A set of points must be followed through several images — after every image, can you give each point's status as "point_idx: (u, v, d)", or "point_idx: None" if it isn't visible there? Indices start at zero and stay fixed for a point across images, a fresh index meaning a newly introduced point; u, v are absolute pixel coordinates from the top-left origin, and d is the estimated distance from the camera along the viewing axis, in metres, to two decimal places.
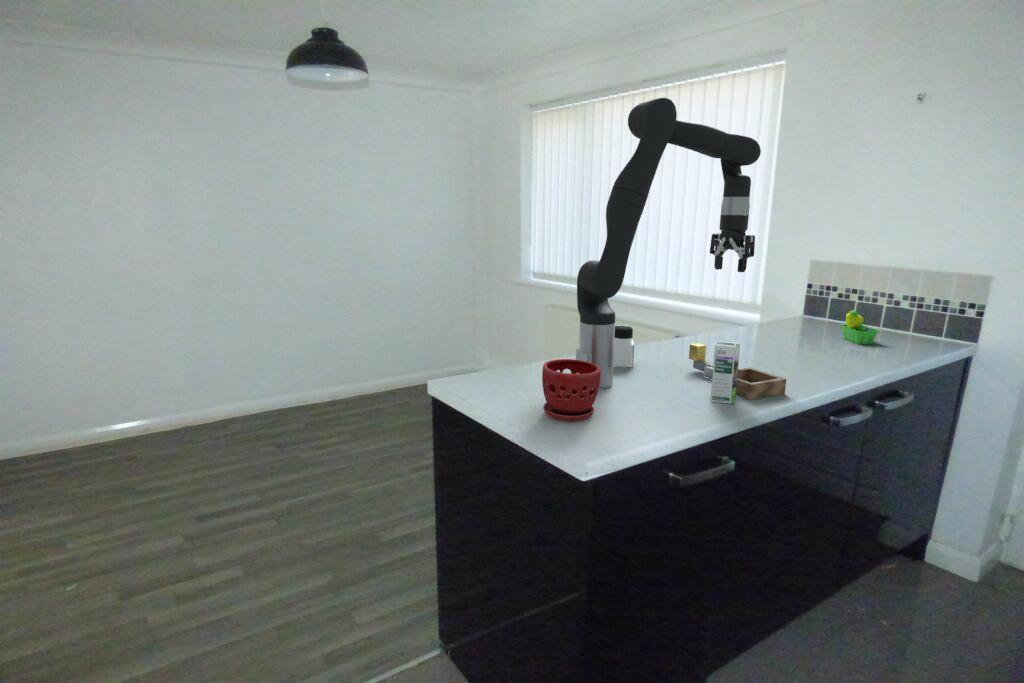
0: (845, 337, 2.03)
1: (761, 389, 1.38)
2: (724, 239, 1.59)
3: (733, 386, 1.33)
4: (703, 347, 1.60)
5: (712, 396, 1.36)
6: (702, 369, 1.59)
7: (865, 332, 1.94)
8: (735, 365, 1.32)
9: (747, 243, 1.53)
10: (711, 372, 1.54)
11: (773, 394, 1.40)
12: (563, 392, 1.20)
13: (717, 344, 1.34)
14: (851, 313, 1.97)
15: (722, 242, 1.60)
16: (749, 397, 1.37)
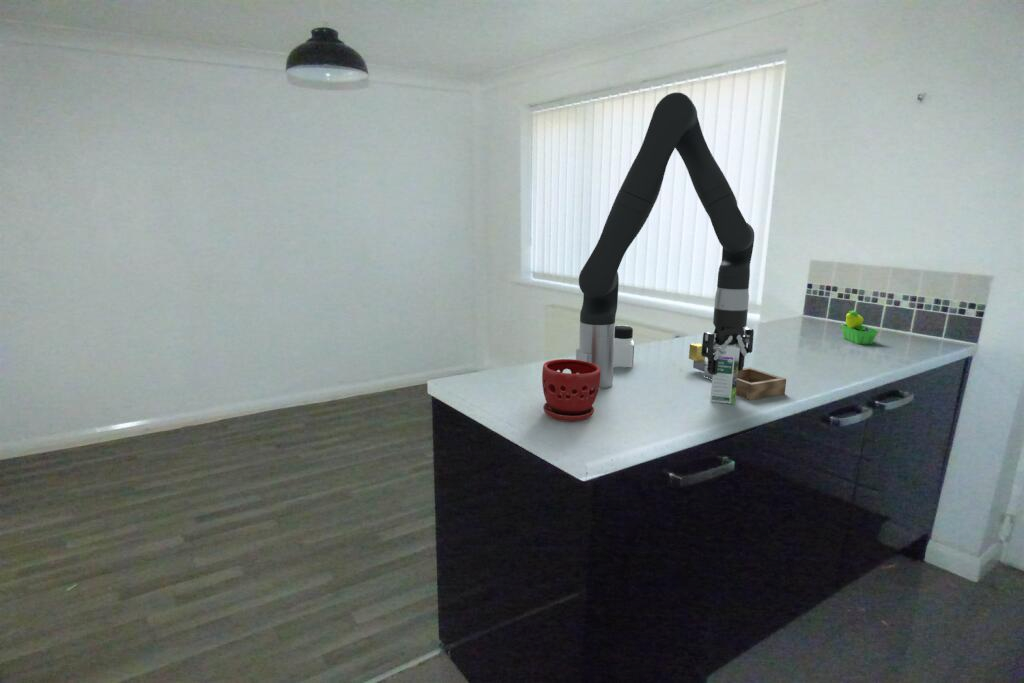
0: (845, 337, 2.03)
1: (761, 389, 1.38)
2: (730, 338, 1.32)
3: (733, 386, 1.33)
4: None
5: (712, 396, 1.36)
6: (702, 369, 1.59)
7: (865, 332, 1.94)
8: (735, 365, 1.32)
9: (752, 338, 1.36)
10: None
11: (773, 394, 1.40)
12: (563, 392, 1.20)
13: (717, 344, 1.34)
14: (851, 313, 1.97)
15: (728, 342, 1.32)
16: (749, 397, 1.37)
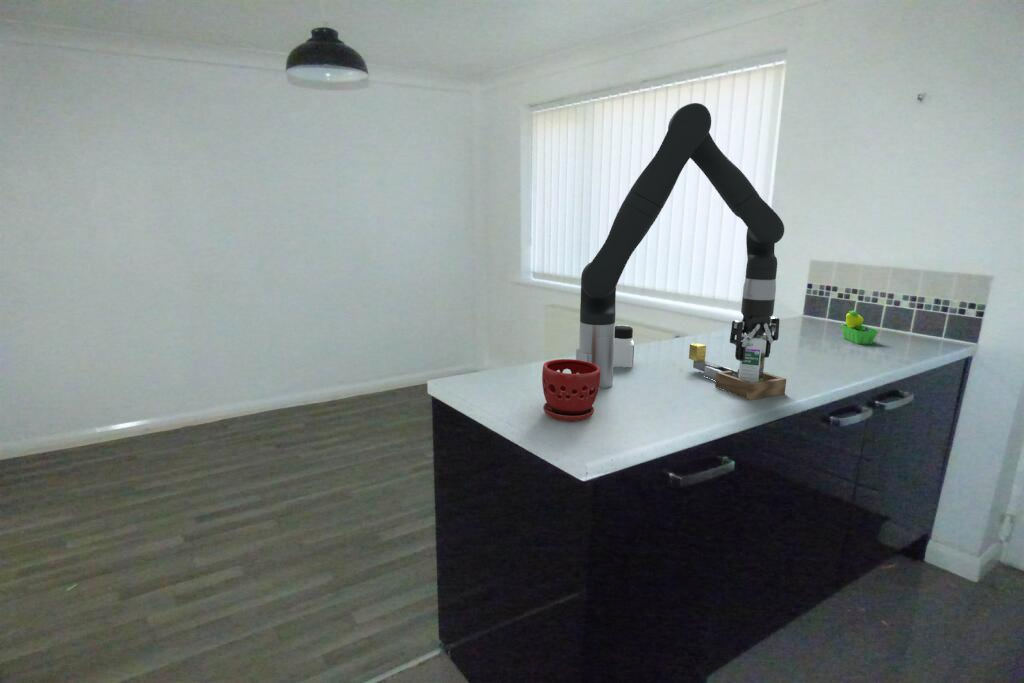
0: (845, 337, 2.03)
1: (761, 389, 1.38)
2: (758, 326, 1.39)
3: (760, 377, 1.41)
4: (703, 347, 1.60)
5: None
6: (702, 369, 1.59)
7: (865, 332, 1.94)
8: (761, 357, 1.40)
9: (778, 326, 1.43)
10: (711, 372, 1.54)
11: (773, 394, 1.40)
12: (563, 392, 1.20)
13: None
14: (851, 313, 1.97)
15: (755, 330, 1.39)
16: (749, 397, 1.37)
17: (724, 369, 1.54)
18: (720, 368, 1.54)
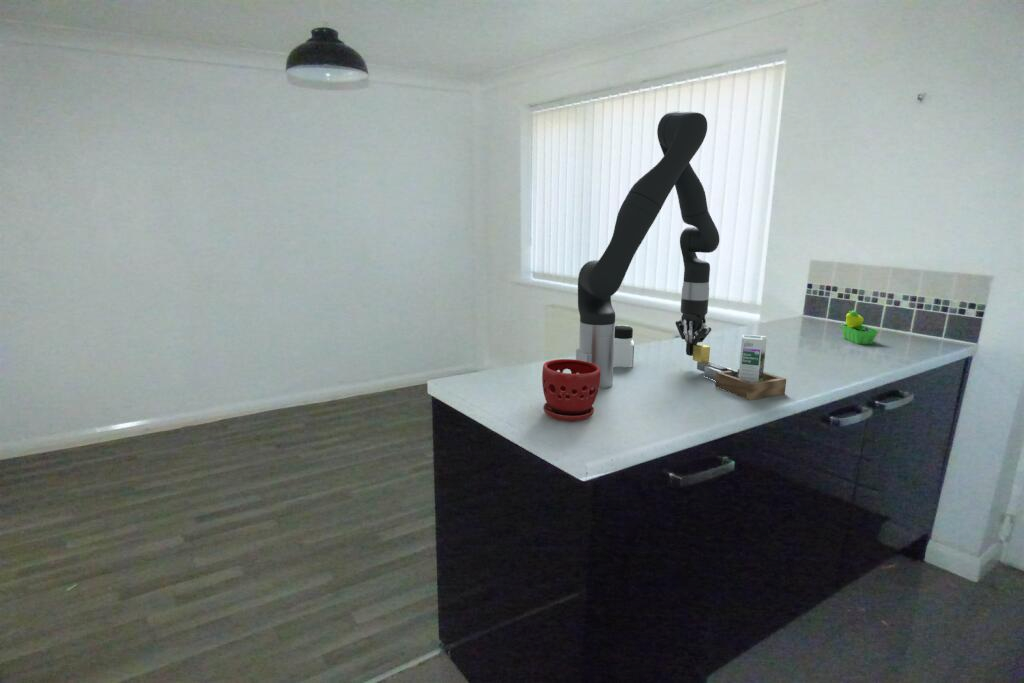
0: (845, 337, 2.03)
1: (761, 389, 1.38)
2: None
3: (760, 377, 1.41)
4: (707, 348, 1.59)
5: None
6: None
7: (865, 332, 1.94)
8: (761, 357, 1.40)
9: None
10: (711, 372, 1.54)
11: (773, 394, 1.40)
12: (563, 392, 1.20)
13: (744, 337, 1.41)
14: (851, 313, 1.97)
15: None
16: (749, 397, 1.37)
17: None
18: (724, 369, 1.53)
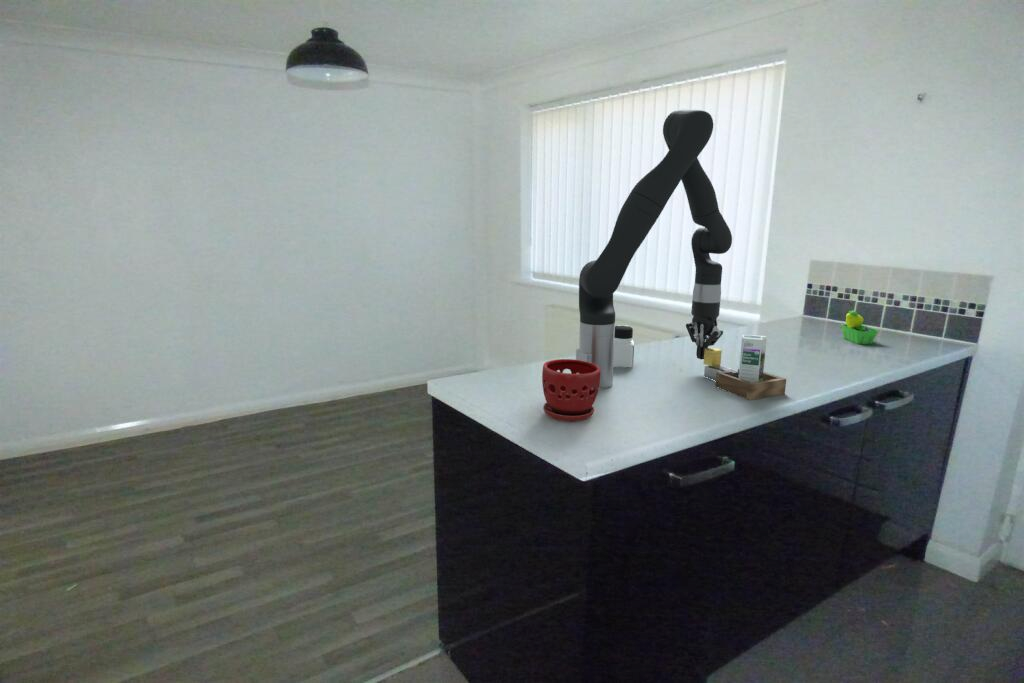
0: (845, 337, 2.03)
1: (761, 389, 1.38)
2: None
3: (760, 377, 1.41)
4: (718, 352, 1.55)
5: None
6: None
7: (865, 332, 1.94)
8: (761, 357, 1.40)
9: None
10: (711, 372, 1.54)
11: (773, 394, 1.40)
12: (563, 392, 1.20)
13: (744, 337, 1.41)
14: (851, 313, 1.97)
15: None
16: (749, 397, 1.37)
17: None
18: (737, 374, 1.49)
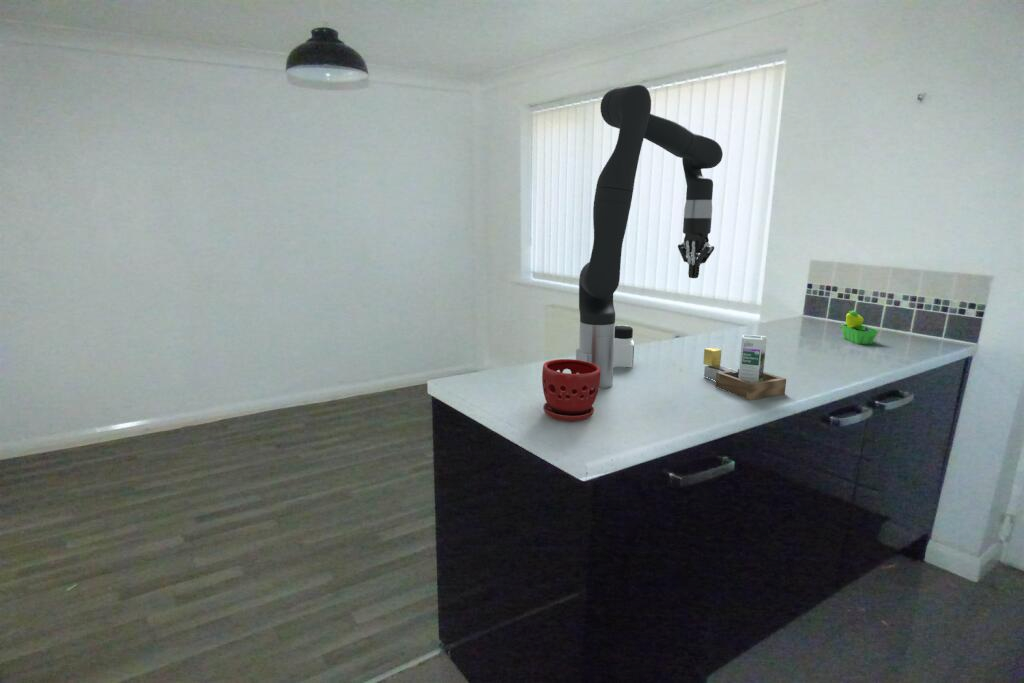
0: (845, 337, 2.03)
1: (761, 389, 1.38)
2: None
3: (760, 377, 1.41)
4: (718, 352, 1.55)
5: None
6: None
7: (865, 332, 1.94)
8: (761, 357, 1.40)
9: None
10: (711, 372, 1.54)
11: (773, 394, 1.40)
12: (563, 392, 1.20)
13: (744, 337, 1.41)
14: (851, 313, 1.97)
15: None
16: (749, 397, 1.37)
17: None
18: (736, 374, 1.49)
